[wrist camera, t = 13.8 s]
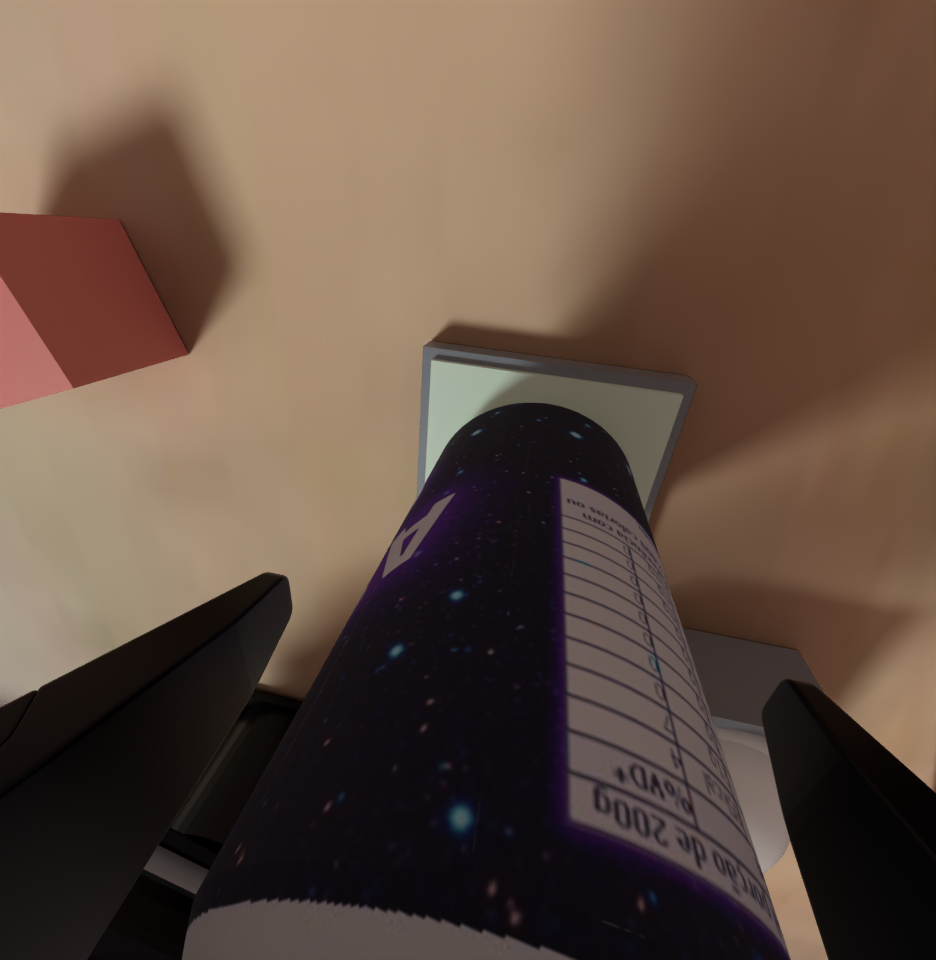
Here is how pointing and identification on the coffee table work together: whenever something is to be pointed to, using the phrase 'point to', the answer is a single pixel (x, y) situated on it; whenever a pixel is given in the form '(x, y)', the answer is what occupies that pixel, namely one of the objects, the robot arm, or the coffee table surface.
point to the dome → (756, 793)
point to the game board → (554, 403)
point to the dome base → (742, 676)
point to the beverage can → (500, 742)
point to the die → (74, 306)
